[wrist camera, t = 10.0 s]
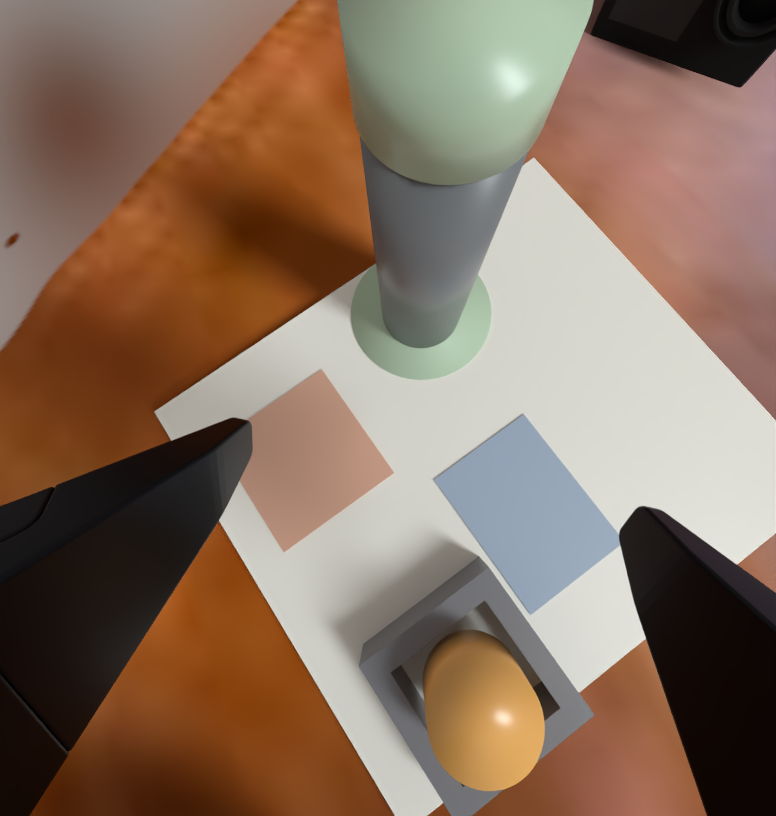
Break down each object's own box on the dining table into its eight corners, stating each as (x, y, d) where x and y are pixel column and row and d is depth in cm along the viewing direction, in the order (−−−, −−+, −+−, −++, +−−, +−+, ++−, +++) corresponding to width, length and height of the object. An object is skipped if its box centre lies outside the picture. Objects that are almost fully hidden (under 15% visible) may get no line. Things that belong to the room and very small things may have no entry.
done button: (462, 762, 15) (474, 818, 13) (402, 669, 16) (403, 706, 14) (542, 697, 16) (569, 740, 13) (480, 609, 16) (495, 634, 14)
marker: (441, 363, 20) (536, 132, 6) (367, 330, 20) (293, 43, 6) (474, 292, 20) (632, -72, 6) (401, 261, 21) (401, -141, 7)
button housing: (451, 783, 17) (458, 826, 15) (363, 644, 18) (358, 666, 16) (571, 686, 17) (594, 715, 15) (479, 556, 18) (488, 567, 16)
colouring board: (405, 820, 17) (405, 835, 16) (161, 413, 20) (153, 411, 20) (821, 484, 19) (836, 485, 18) (530, 166, 22) (534, 156, 22)
